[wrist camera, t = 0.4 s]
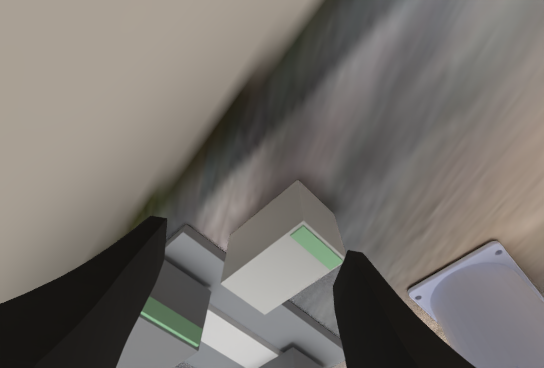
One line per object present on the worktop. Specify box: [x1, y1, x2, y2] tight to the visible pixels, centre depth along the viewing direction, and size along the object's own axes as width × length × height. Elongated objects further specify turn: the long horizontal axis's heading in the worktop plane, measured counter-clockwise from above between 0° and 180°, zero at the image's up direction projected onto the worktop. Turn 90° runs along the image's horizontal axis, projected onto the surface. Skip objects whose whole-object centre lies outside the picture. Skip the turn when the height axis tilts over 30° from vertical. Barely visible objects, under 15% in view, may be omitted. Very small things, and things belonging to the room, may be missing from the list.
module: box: [220, 180, 346, 315], centre depth 22 cm, size 4×7×5 cm, turn 134°
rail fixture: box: [116, 224, 345, 368], centre depth 27 cm, size 20×12×7 cm, turn 44°
